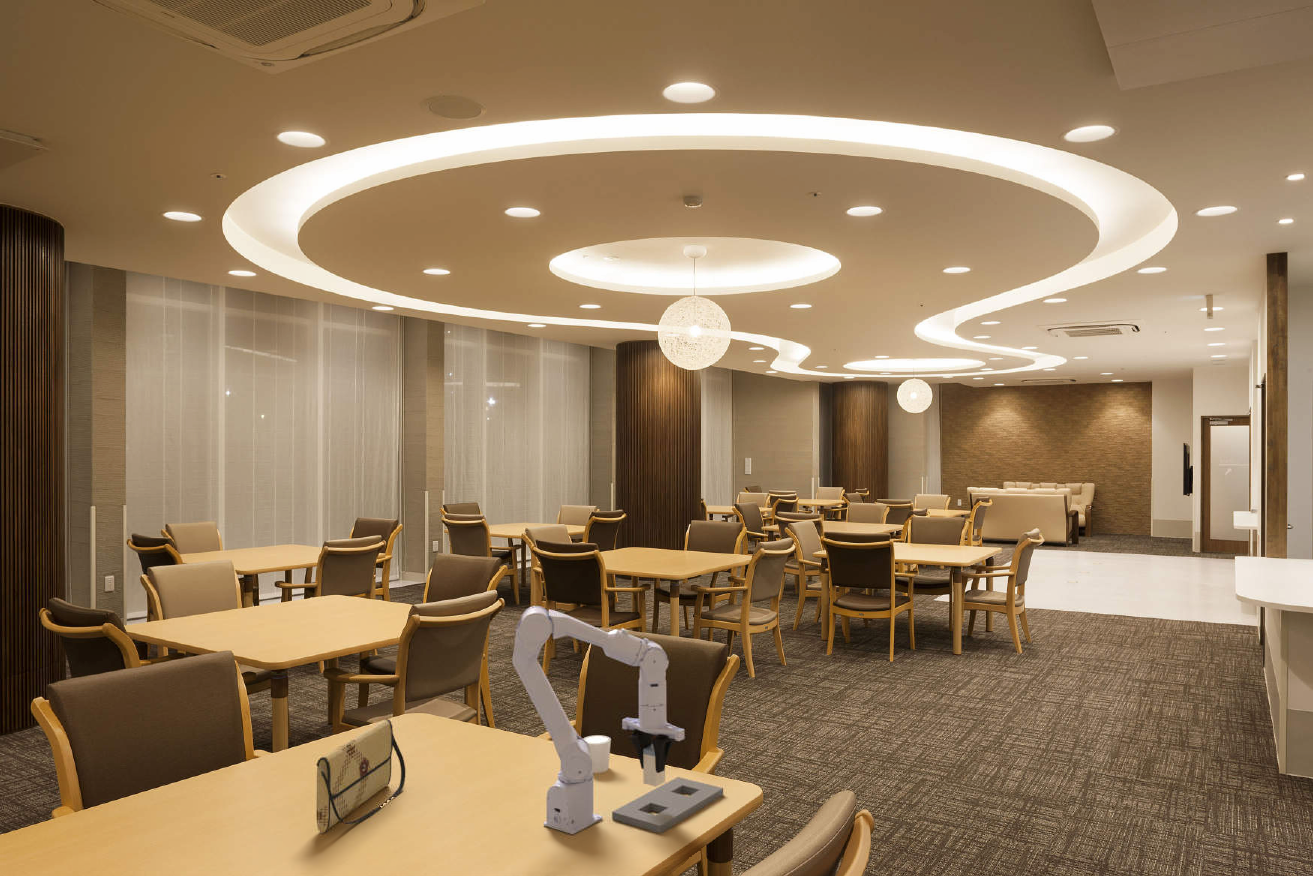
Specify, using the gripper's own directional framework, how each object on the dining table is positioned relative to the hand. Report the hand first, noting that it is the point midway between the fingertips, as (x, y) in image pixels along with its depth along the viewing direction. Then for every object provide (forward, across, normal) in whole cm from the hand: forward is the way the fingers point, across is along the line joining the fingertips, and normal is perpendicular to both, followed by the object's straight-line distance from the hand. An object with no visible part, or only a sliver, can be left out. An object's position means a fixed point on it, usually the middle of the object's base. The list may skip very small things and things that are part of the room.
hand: (652, 769), depth 172 cm
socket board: (+10, 0, -6) cm, 11 cm away
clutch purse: (+10, +53, +31) cm, 62 cm away
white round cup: (+10, +28, -15) cm, 33 cm away
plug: (+3, 0, 0) cm, 3 cm away
